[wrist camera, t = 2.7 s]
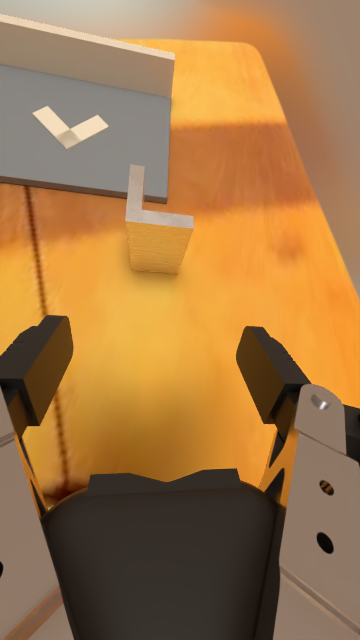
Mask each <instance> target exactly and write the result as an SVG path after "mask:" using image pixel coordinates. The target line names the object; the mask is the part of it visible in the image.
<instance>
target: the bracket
mask: <svg viewBox="0 0 360 640" xmlns="http://www.w3.org/2000/svg"><path fill="white" fill-rule="evenodd" d="M125 222H126V229H127V237H128V245H129V252H130V260H131V267H132V270H135V271H147V272H159V273H171V274H178V272H179V270H180V267H181V264H182V261H183V258H184V255H185V252H186V249H187V246H188V243H189V240H190V237H191V234H192V231H193V216H188V215H180V214H172V213H164V212H156V211H148V210H145V166H139V165H132V164H130V173H129V185H128V196H127V208H126V220H125Z"/></svg>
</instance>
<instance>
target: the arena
mask: <svg viewBox="0 0 360 640" xmlns="http://www.w3.org/2000/svg"><path fill="white" fill-rule="evenodd" d="M174 61H175V53H171V52H166V51H162V50H157V49H153V48H149V47H144V46H140V45H135V44H131V43H127V42H122V41H118V40H113V39H109V38H104V37H100V36H95V35H91V34H87V33H82V32H78V31H73V30H69V29H64V28H60V27H56V26H52V25H47V24H43V23H38V22H34V21H29V20H25V19H20V18H16V17H12V16H7V15H3V14H0V182H3V183H11V184H18V185H26V186H34V187H42V188H50V189H57V190H65V191H73V192H81V193H88V194H96V195H104V196H112V197H119V198H127V196H128V185H129V173H130V164H132V165H139V166H145V201H150V202H158V203H166V202H167V187H168V162H169V136H170V111H171V93H172V82H173V72H174Z"/></svg>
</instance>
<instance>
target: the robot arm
mask: <svg viewBox="0 0 360 640" xmlns="http://www.w3.org/2000/svg"><path fill="white" fill-rule="evenodd" d="M72 355H73V340H72V334H71V328H70V322H69V318H68V317H67V316H56V315H47V316H46V317H45V318H44V319H43V320H42V321H41V323H40V324H39V325H38V326H32V327H30V328H29V329H27V330H25V331H23V332H22V333H20V334H19V336H18V337H17V338H16V339H15V340H14V341H13V344H11V345H10V346H9V347H8V348H7V349H6V351H5V352H4V353H3V354H2V355H1V356H0V640H360V409H359V408H355V407H351V406H348V405H344V404H342V402H341V401H340V400H339V399H338V398H337V396H335V395H334V394H333V393H332V392H330V391H329V390H327V389H325V388H323V387H321V386H318V385H314V384H312V383H311V382H310V381H309V380H308V378H307V377H306V376H305V374H304V373H303V372H302V370H301V369H300V368H299V366H298V365H297V364H296V362H295V361H293V359H292V357H291V356H290V355H289V354H288V352H287V351H286V349H285V348H284V347H283V345H282V344H280V343H279V342H278V341H277V340H275V339H274V338H271V337H270V336H269V334H268V333H267V332H266V330H265V329H264V328H263V327H255V326H246V327H245V328H244V331H243V334H242V337H241V340H240V343H239V346H238V349H237V353H236V361H237V364H238V367H239V369H240V371H241V373H242V376H243V378H244V380H245V382H246V385H247V387H248V389H249V392H250V394H251V396H252V398H253V401H254V403H255V405H256V407H257V410H258V412H259V414H260V417H261V419H262V421H263V423H264V424H275V425H276V427H277V430H276V431H275V434H274V437H273V441H272V445H271V449H270V452H269V456H268V460H267V464H266V468H265V471H264V474H263V477H262V480H261V482H260V484H259V486H258V488H257V487H255V486H253V485H251V484H249V483H246V482H244V481H241V480H240V478H239V475H238V471H237V468H236V469H213V470H202V471H199V472H196V473H193V474H191V475H188V476H185V477H182V478H180V479H177V480H174V481H171V482H162V481H158V480H154V479H150V478H147V477H143V476H139V475H135V474H131V473H118V474H95V475H91V476H90V480H89V485H88V487H87V488H84V489H81V490H79V491H77V492H75V493H73V494H71V495H69V496H68V497H66V498H64V499H63V500H61V501H60V502H58V503H57V504H56V505H54V506H53V507H52V508H50V509H49V510H48V508H47V505H46V503H45V500H44V497H43V495H42V492H41V490H40V487H39V484H38V481H37V478H36V475H35V472H34V469H33V467H32V464H31V461H30V458H29V455H28V452H27V449H26V446H25V443H24V440H23V437H22V435H23V433H24V431H25V429H26V427H27V426H40V424H41V422H42V420H43V418H44V416H45V414H46V412H47V410H48V407H49V405H50V403H51V401H52V399H53V397H54V395H55V392H56V390H57V388H58V386H59V384H60V382H61V380H62V378H63V375H64V373H65V371H66V369H67V367H68V365H69V363H70V361H71V358H72Z"/></svg>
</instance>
